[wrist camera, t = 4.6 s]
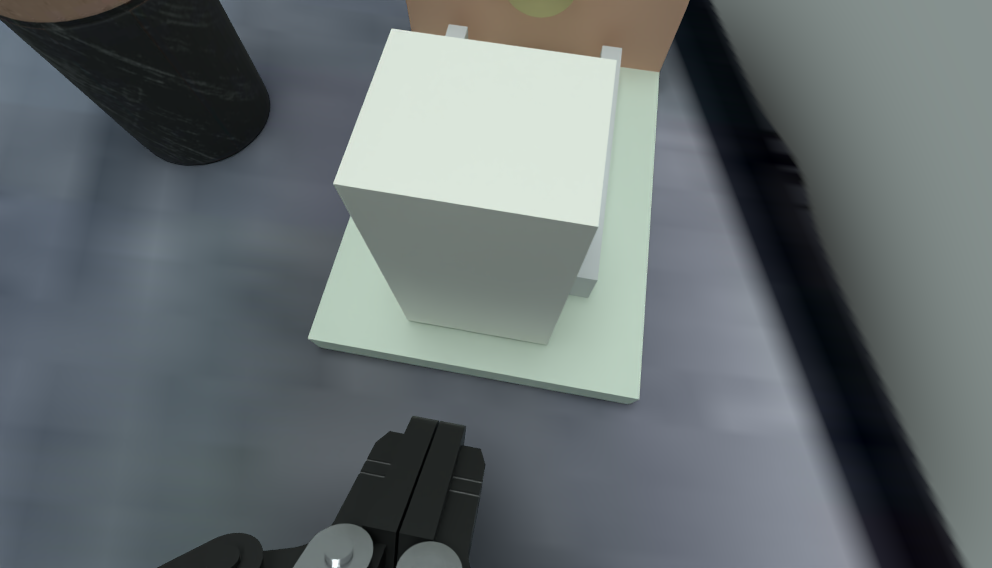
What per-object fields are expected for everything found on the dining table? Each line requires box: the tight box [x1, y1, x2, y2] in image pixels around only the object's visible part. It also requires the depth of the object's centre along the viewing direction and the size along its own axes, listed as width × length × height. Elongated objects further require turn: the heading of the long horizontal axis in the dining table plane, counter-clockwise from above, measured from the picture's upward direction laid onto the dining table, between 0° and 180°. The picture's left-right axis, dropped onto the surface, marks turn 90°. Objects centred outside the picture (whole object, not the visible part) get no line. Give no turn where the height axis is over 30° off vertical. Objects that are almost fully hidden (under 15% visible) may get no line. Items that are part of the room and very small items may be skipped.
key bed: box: [308, 0, 689, 404], centre depth 19 cm, size 22×14×12 cm, turn 170°
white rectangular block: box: [333, 29, 617, 345], centre depth 16 cm, size 5×6×10 cm
